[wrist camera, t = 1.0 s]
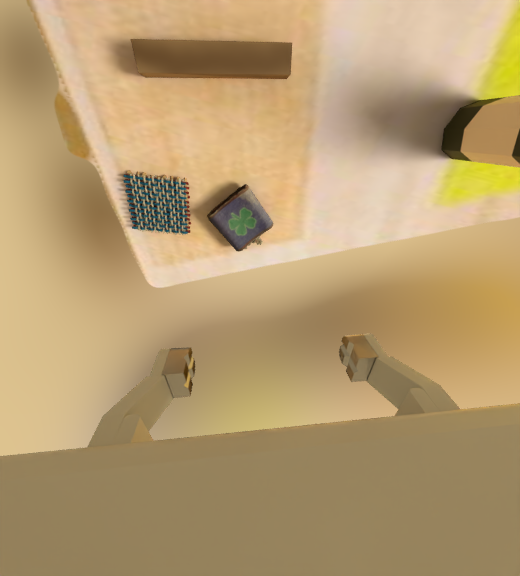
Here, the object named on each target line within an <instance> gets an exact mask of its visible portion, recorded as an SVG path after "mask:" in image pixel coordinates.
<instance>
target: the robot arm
mask: <svg viewBox="0 0 520 576" xmlns="http://www.w3.org/2000/svg"><path fill="white" fill-rule="evenodd" d="M342 343H343V345H342V346H340V349H339V356H340V359H341V361H342V364H343V365H345V366H346V367H347V369H346V372H347V374H348V376H349V378H350V380H351V382H356V381H367V382H368V383H369V384H370V385H371V386H373V387H374V388H375V389H376V390H377V391H378V392H379V393H380V394H382V395H383V396H384V397H385V398H386V399H387V400H389V401H390V402H391V403H392V404H393V405H394V406H395V407H397V408H398V411H397V413H396V415H395V416H392V417H381V418H371V419H362V420H352V421H342V422H333V423H322V424H313V425H303V426H294V427H284V428H274V429H265V430H255V431H245V432H235V433H226V434H215V435H205V436H197V437H187V438H177V439H167V440H157V441H153V439H152V437H151V435H150V434H149V430H150V429H151V428H152V426H153V425H154V424H155V423H156V421H157V420H158V419H159V417H160V416H161V414H162V413H163V412H164V411H165V409H166V408H167V407H168V406H169V404H170V403H171V402H172V400H173V398H179V397H188V396H191V391H192V386H193V383H192V378H193V377H194V374H195V360H194V358H193V357H192V349H191V348H171V349H161V350H160V351H159V353H158V355H157V358H156V360H155V363H154V366H153V368H152V371H151V374H150V376H149V377H146V378H145V379H143V380H142V381H141V382H140V383H139V384H138V385H137V386H136V387H135V388H133V389H132V390H131V391H130V392H129V393H128V394H127V395H126V396H125V397H124V398H122V399H121V400H120V401H119V402H118V403H117V404H116V405H115V406H114V407H112V408H111V409H110V410H109V411H108V412H107V413H106V414H105V415H104V416H103V417H102V419H101V421H100V423H99V425H98V427H97V429H96V431H95V433H94V435H93V437H92V439H91V441H90V443H89V445H88V447H87V448H78V449H68V450H58V451H48V452H38V453H28V454H18V455H8V456H0V576H520V403H518V404H509V405H498V406H489V407H479V408H470V409H460V408H459V407H458V406H457V405H456V404H455V402H454V401H453V400H452V399H451V398H450V396H449V395H448V394H447V393H446V392H445V391H444V390H443V388H442V387H441V386H440V385H439V384H437V383H435V382H434V381H432V380H430V379H429V378H427V377H425V376H424V375H422V374H420V373H418V372H417V371H415V370H414V369H412V368H410V367H408V366H407V365H405V364H403V363H402V362H400V361H398V360H397V359H395V358H393V357H389V356H388V355H387V353H386V352H385V351H384V349H383V348H382V346H381V345H380V344H379V342H378V341H377V339H376V338H375V337H374V335H372V334H362V335H361V334H360V335H349V336H344V337H343V338H342Z"/></svg>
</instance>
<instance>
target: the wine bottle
mask: <svg viewBox="0 0 520 576" xmlns="http://www.w3.org/2000/svg"><path fill="white" fill-rule="evenodd" d="M442 151H443V152H445V153H446V154H447V155H448V156H450V157H451V158H452V159H457V160H465V161H473V162H481V163H489V164H497V165H505V166H513V167H520V95H519V96H511V97H503V98H495V99H488V100H480V101H478V102H475V103H473V104H470V105H467V106H465V107H462V108H460V109H459V111H458V112H457V113H456V115H455V116H454V117H453V118H452V120H451V121H450V122H449V124H448V125H447V126H446V128H445V129H444V135H443V142H442Z"/></svg>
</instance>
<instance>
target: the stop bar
mask: <svg viewBox="0 0 520 576" xmlns="http://www.w3.org/2000/svg"><path fill="white" fill-rule="evenodd" d="M131 42H132V47H133V51H134V55H135V60H136V64H137V68H138V73H140V74H141V75H143V76H145V77H161V78H255V79H287V78H288V77H289V76H290V74H291V56H292V43H282V42H237V41H192V40H147V39H131Z"/></svg>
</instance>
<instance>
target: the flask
mask: <svg viewBox="0 0 520 576" xmlns="http://www.w3.org/2000/svg"><path fill="white" fill-rule="evenodd" d="M207 217H208V219H209V220H210V221H211V223H212V224H213V225H214V226H215V227H216V228H217V229H218V230H219V232H220V233H221V234H222V235H223V236H224V237H225V238H226V239H227V240H228V242H229V243H230V244H231V245H232V246H233V247H234V249H235V250H236V251H242V250H243V249H247V246H249V245H250V244H251V243H257V245H258V244H260V245H261V243H263V241H261V239H260V235H262V234H263V233H264V232H266V231H268V230H269V229H271V228H272V226H273V221H272V220H271V219H270V217H269V216H268V214H267V213H266V212H265V210H264V209H263V207H262V206H261V204H260V203H259V201H258V200H257V198H256V197H255V195H254V194H253V192H252V191H251V189H250V188H249V186H248V185H246V184H245V185H243V186H242V187H240V188H239V189H237V191H236V192H234V193H233V194H231V195H230V196H229V197H228V198H227V199H225V200H224V201H222V202H221V203H220V204H219V205H218V206H217V207H215V208H214V209H213V210H212V211H211V212H210V213H209V214H208V215H207Z"/></svg>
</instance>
